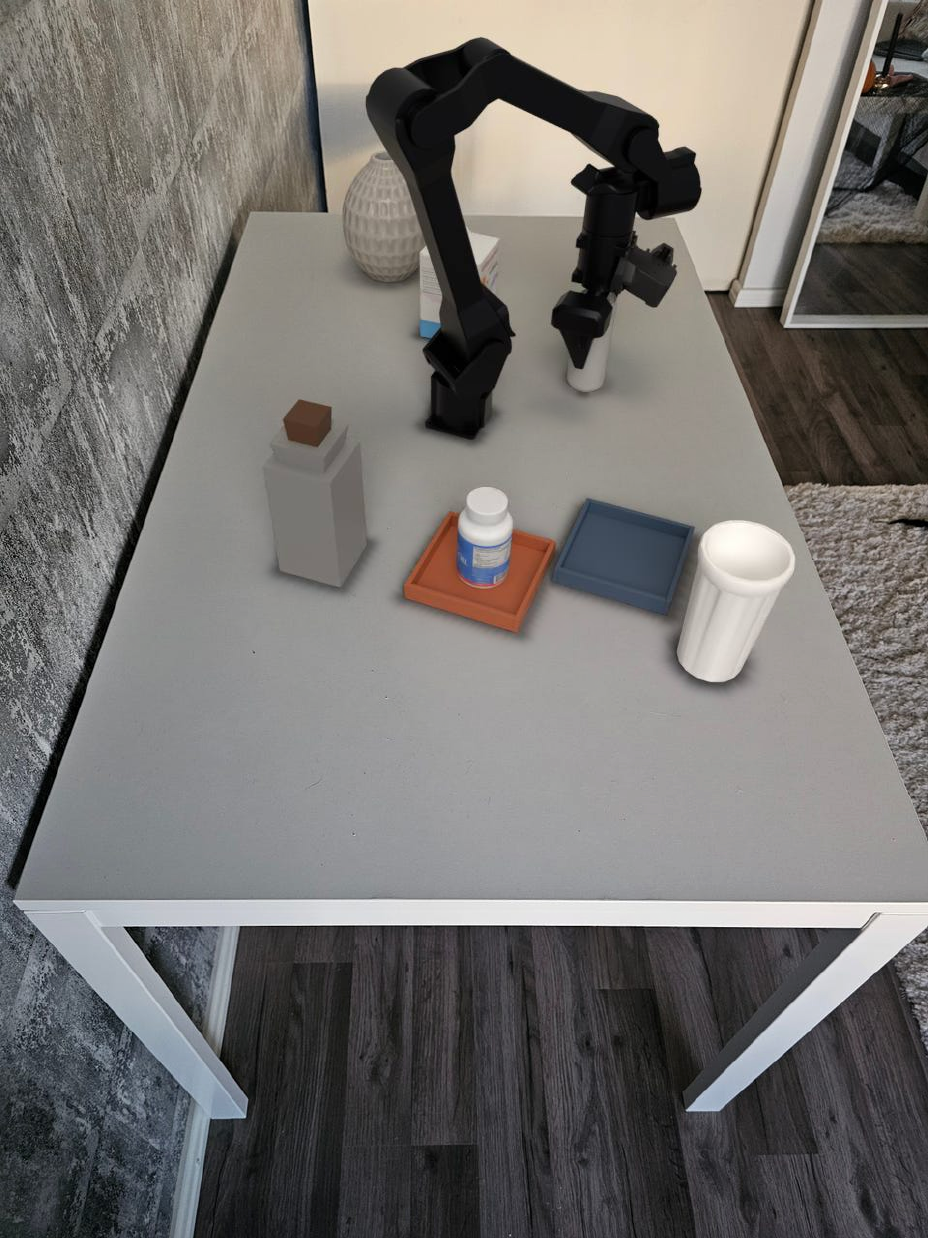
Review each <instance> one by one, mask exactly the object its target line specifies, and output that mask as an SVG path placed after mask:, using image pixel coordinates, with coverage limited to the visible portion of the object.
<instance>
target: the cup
mask: <svg viewBox="0 0 928 1238" xmlns="http://www.w3.org/2000/svg"><path fill="white" fill-rule="evenodd" d="M697 561H698V563H697V566H696V570H695V575H694V579H693V583H692V587H691V591H690V595H689V599H688V604H687V607H686V611H685V616H684V618H683V619H684V621H683V623H682V628H681V632H680V636H679V640H678V644H677V649H676V654H677V659H678V662H679V664H680V665H681V667H683V669H684V670H685V671H686V672H687V673H689V674H690V675H692V676H693V677H695V678H696V679H699V680H703V681H706V682H710V683H725V682H727V681H729V680H732V679H735V677H736V676H737V675H739V673H740V672H741V671H742V669H743V667H744V665H745V663H746V661H747V659H748V657H749V655H750V654H751V652H752V650H753V647H754V645H755V644H756V641H757V639H758V637H759V635H760V633H761V631H762V629H763V628H764V626H765V623H766V621H767V619H768V618H769V616H770V614H771V611H772V609H773V607H774V606H775V603H776V601H777V600H778V597H779V595H780V593H781V591H782V589H783V587H784V586H785V585H786V584H787V583H788V581H789V580H790V579H791V577H792V576H793V574H794V572H795V566H796V562H797V560H796V556H795V554H794V551H793V548H792V546H791V544H790V542H788V541H787V540H786V539H785V537H783V535H781V534H780V533H779V532H777V531H775V530H774V529H771V528H770V527H768V526H767V525H764V524H763V523H757V522H754V521H749V520H731V519H729V520H725V521H722V522H718V523H715V524H713V525H711V527H710V528H708V529H707V530H706V531H705V532H704V533H703V534H702V535H701V537H700V540H699V544H698V548H697Z"/></svg>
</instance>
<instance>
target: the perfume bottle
mask: <svg viewBox="0 0 928 1238" xmlns="http://www.w3.org/2000/svg"><path fill="white" fill-rule="evenodd" d="M332 408H333V407H332V406H331V405H330V406H329V405H325V404H321V403H316V402H313V401H309V400H304V399H298V400H297V401H296V402H295V403H294V405H293V406H292V407H291V408H290V409H289V411H288V412H287V413H286V414H285V416H283V418H282V422H283V426H282V427H281V429H280V430H279V431H278V432H277V434H276V435H275V436H274V438H273V439H272V440H270V442H269V446H270V447H271V450H272V451H273V452H272V453H271V455H270V456H269V457H268V458H267V460H266V461H265V463H264V464H263V465H262V472H263V473H262V474H263V479H264V482H265V483H264V484H265V489H266V495H267V502H268V509H269V514H270V520H271V526H272V531H273V532H272V533H273V537H274V543H275V550H276V556H277V561H278V567H279V572H282V573H286V574H290V575H292V576H296V577H300V578H304V579H308V580H311V581H314V582H319V583H321V584H325V585H328V586H333V587H335V588H342V587H343V585H344V583H345V582H346V580H347V578H348V577H349V575H350V573H351V572H352V570H353V568H355V567H354V566H355V565H356V564H357V562H358V561H359V559H360V557H361V555H362V554H363V552H364V550H365V549H366V548H367V546H368V542H367V540H368V539H367V524H366V510H365V495H364V493H365V492H364V480H363V465H362V463H363V462H362V450H361V449H362V448H361V440H358V439H354V438H350V437H347V434H348V431H349V427H350V423H348V422H344V421H340V420H336V419H332V415H333V414H332V412H333V410H332Z"/></svg>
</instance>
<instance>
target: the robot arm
mask: <svg viewBox="0 0 928 1238" xmlns="http://www.w3.org/2000/svg"><path fill="white" fill-rule="evenodd" d="M374 79H375V80H374V81H373V82H372V83H371V85H370V88H369V91H368V93H367V95H366V96H365V110H366V115H367V118H368V120H369V122H370V124H371V126H372V128H373V130H374V131H375V133H376V135H377V137H378V139H379V141H380V142H381V144H382V146H383V148H384V149H385V151H387V152H388V154H389V155H390V157H391V158H392V160H393V161H394V163H395V164H396V166H397V167H398V169H399V170H400V172H401V174H402V175H403V177H404V179H405V181H406V184H407V187H408V190H409V193H410V196H411V200H412V203H413V206H414V209H415V212H416V215H417V218H418V221H419V224H420V227H421V231H422V234H423V237H424V240H425V243H426V246H427V249H428V252H429V255H430V258H431V262H432V265H433V268H434V271H435V274H436V277H437V280H438V283H439V286H440V289H441V292H442V302H441V306H440V310H439V317H440V324H441V327H440V328H439V329H438V331H437V332H436V333H435V334H434V336H433V337H432V338H429V341H428V342H427V343H426V344H425V345H424V346H423V348H422V350H421V351H422V354H423V356H424V358H425V361H426V363H427V364H428V365H429V366H430V367H432V369H433V370H434V371H433V372H432V374H431V375H430V415H429V416H428V417H427V419H426V420H425V422H424V426H425V428H427V429H430V430H434V431H438V432H441V433H446V434H450V435H452V436H453V435H454V436H457V437H461V438H465V439H468V440H476V438H477V436H478V435H479V433H480V432H481V430H482V429H483V428H485V427H486V425H487V424H488V422H489V421H490V419H491V417H492V413H493V411H492V410H493V409H492V407H493V390H495V388H496V386H497V384H498V381H499V380H500V379H499V378H500V376H501V373H502V371H503V369H504V366H505V364H506V360H507V358H508V357H509V355H511V354H512V352H513V351H512V350H513V341H512V338H515V337H516V335H517V334H516V333H515V332H514V330H513V329H512V326H511V322H510V311H509V308H508V305H507V304H506V303H505V302H504V301H502V300H501V299H500V297H498V296H497V294H496V295H495V294H494V293H493V292H491V291H490V290H489V289H488V288H487V287H486V286H485V285H484V284H483V283H481V280H480V276H479V272H478V269H477V265H476V262H475V258H474V254H473V251H472V247H471V243H470V240H469V236H468V233H467V229H466V226H467V225H466V222H465V218H464V215H463V211H462V207H461V203H460V201H459V196H458V193H457V189H456V186H455V182H454V179H453V174H452V173H453V172H452V168H453V164H454V158H455V153H456V149H457V145H456V137H455V136H456V135H459V134H460V133H462V132H464V131H465V130H467V129H469V128H470V127H471V126H473V124H474V123H475V122H476V121H477V119H478V118H479V117H480V116H481V114H482V113H483V112H484V111H485V109H486V108H487V107H488V106H489V105H490V104H492V103H494V102H495V101H497V100H500V101H502V102H505V103H507V104H508V105H510V106H512V107H515V108H516V109H519V110H521V111H523V112H525V113H528V114H530V115H532V116H534V117H536V118H538V119H540V120H542V121H544V122H546V123H548V124H551V125H553V126H555V127H557V128H559V129H561V130H564V131H566V132H568V133H569V134H570V135H572V137H573V138H575V139H576V140H577V141H578V142H579V143H581V144H582V145H583V146H584V147H586V149H588V150H589V151H590V152H592V153H593V154H595V155H596V156H598V157H600V158H601V159H603V160H604V161H605V162H608V163H609V164H610V165H612V166H608V167H604V168H599V169H598V167H596V166H594V165H593V164H592V163H587V164H586V165H585V167H584V168H583V169H582V170H581V171H579V172H578V173H576V174H575V176H573V177H572V178H571V180H570V185H571V186H573V187H574V188H575V189H577V190H578V191H579V192H580V193H582V194H583V195H585V202H584V212H583V218H582V227H581V232H580V233H579V235H578V236H577V237H576V240H575V246H574V247H575V249H579V250H578V256H577V263H576V267H575V269H574V270H573V271H572V273H571V280H570V282H571V283H574V284H579V285H581V288H583V289H588V291H587V293H586V294H585V293H580V292H581V291H580V292H579V291H575V290H571V289H570V290H568V291H566V292H565V293H563V294H562V295H560V296H559V298H558V300H557V302H556V303H555V305H554V306H553V308H552V310H551V317H550V318H551V319H550V325H551V327H553V328H554V329H556V330H557V331H558V332H559V334H560V335H561V337H562V340H563V342H564V345H565V347H566V349H567V352H568V355H569V356H570V357H571V360H572V363H573V365H574V367H575V368H577V369H583V368H584V366H585V363H586V360H587V358H588V355H589V352H590V349H591V346H592V343H593V341H594V339H595V338H601V337H602V336H603V335H604V334H605V332H606V331H607V329H608V327H609V325H610V324H609V323H610V320H611V317H612V311H613V307H612V305H611V304H610V302H609V301H608V300H607V299H608V297H609V295H610V294H611V293H614V294H615V295H616V297H617V298H619V295H621V293H622V292H624V291H626V292H627V293H630V294H631V295H633V296H635V297H636V298H638V299H639V300H641V301H643V302H644V304H645V305H646V306H648V307H650V308H652V309H655V308H658V307H659V306H660V303H661V302H662V301H663V299H664V297H665V296H666V294H667V293H668V291H669V290H670V288H671V287H672V285H673V283H674V281H675V279H676V277H677V275H678V271H677V266H678V265H677V264H674V263H673V262H674V254H675V248H674V247H672V246H671V245H669V244H667V243H665V242H662V243H660V244H659V245H657V246H656V247H654V248H653V249H650V248H649V247H647V248H646V249H645V250H644V249H642V248H641V247H639V246H638V244H637V243H638V238H639V235H637V230H634V227H635V220H636V215H637V216H638V217H640V218H641V219H642V220H644V221H652V220H656V219H657V220H658V219H660V218H661V219H662V218H665V217H669V216H674V215H680V214H683V213H687V212H688V213H689V212H691V211H693V210H694V209H695V208H696V207H697V205H698V204H699V202H700V199H701V196H702V191H703V188H702V186H701V181H702V180H701V175H700V172H699V169H698V167H697V165H696V164H695V162H696V157H697V153H696V152H695V151H694V150H692V149H691V148H689V147H687V146H686V145H685V146H679V147H676V148H674V149H672V150H669V151H664V150H663V147H662V145H661V143H660V140H659V137H660V123H659V121H658V120H657V118H655V117H654V116H653V115H651V114H650V113H648V112H646V111H644V110H643V109H641V108H639V107H638V106H637V105H634V104H632V103H631V102H629V101H627V100H626V99H624V98H622V97H621V96H618V95H614V94H610V93H606V92H601V91H597V90H590V91H589V90H583V89H579V88H576V87H574V86H572V85H570V84H568V83H567V82H565V81H563V80H561V79H559V78H557V77H555V76H554V75H551V74H550V73H548V72H546V71H544V70H541V69H540V68H538V67H536V66H534V65H532V64H530V63H528V62H526V61H524V60H522V59H521V58H519V57H517V56H515V55H513V54H511V52H510V51H509V50H508V49H505V48H504V47H502V46H500V45H499V44H497V43H495V42H494V41H492V40H491V39H489V38H487V37H484V36H483V37H482V36H479V37H475V38H471V39H468V40H467V41H465V42H464V43H462V44H460V45H458V46H456V47H455V48H452V49H449V50H445V51H441V52H438V53H433V54H431V55H427V56H423V57H420V58H417V59H415V60H414V61H412V62H410V63H408V64H406V65H405V66H403V67H391V68H388V69H386V70H383V72H381V73H380V74H379V75H378V76H376V77H375V78H374Z"/></svg>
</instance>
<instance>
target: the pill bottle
mask: <svg viewBox="0 0 928 1238" xmlns="http://www.w3.org/2000/svg"><path fill="white" fill-rule="evenodd" d="M508 508H509V499H508V497H507V495H506V494H505V493H504V492H503V491H502V490H500V489H498V488H495V487H492V486H481V487H477V488H474V489H472V490H471V491H469V493H467V495H466V499H465V506H464V508H463V509H462V511H461V512H460V513H459V514H460V516H459V519H458V538H457V573H458V576H459V577H460V579H461V580H462V581H463V582H464V583H466V584H468V585H470V586H472V587H475V588H482V589H486V588H492V587H495V586H498V585H499V584H501V583H502V582H503V581H504V580H505V579H506V577H507V575H508V572H509V564H510V552H511V542H512V533H513V529H514V520H513V517H512V514H511V513H510V512H509V509H508Z"/></svg>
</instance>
